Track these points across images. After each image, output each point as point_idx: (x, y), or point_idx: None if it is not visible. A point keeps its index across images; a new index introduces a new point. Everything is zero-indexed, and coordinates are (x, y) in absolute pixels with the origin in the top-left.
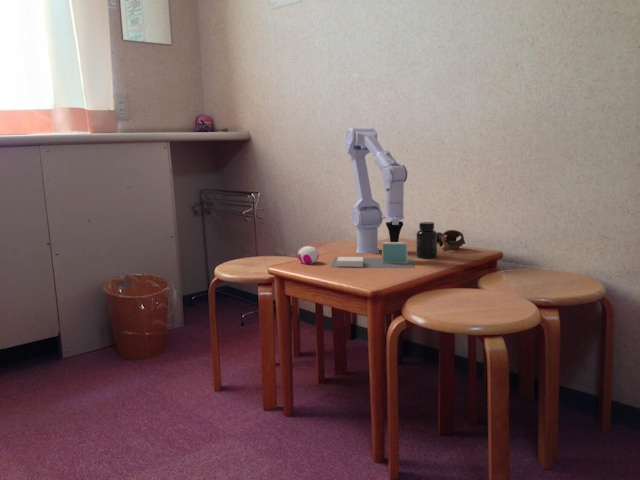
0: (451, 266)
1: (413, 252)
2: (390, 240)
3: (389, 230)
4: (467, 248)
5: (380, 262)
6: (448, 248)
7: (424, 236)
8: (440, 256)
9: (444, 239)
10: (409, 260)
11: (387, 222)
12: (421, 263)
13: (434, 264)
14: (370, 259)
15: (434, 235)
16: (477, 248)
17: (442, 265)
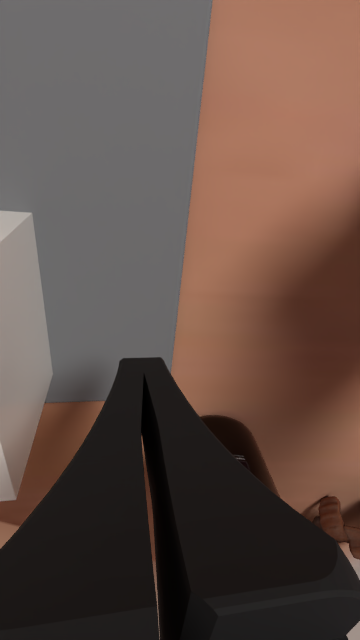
0: (11, 518)
1: (357, 401)
2: (116, 378)
3: (53, 498)
4: None
5: (3, 197)
6: (320, 518)
7: None
8: None
9: (357, 551)
10: (106, 386)
11: (317, 615)
12: (64, 429)
13: (46, 472)
14: (135, 109)
15: None
16: (345, 555)
17: (27, 495)
